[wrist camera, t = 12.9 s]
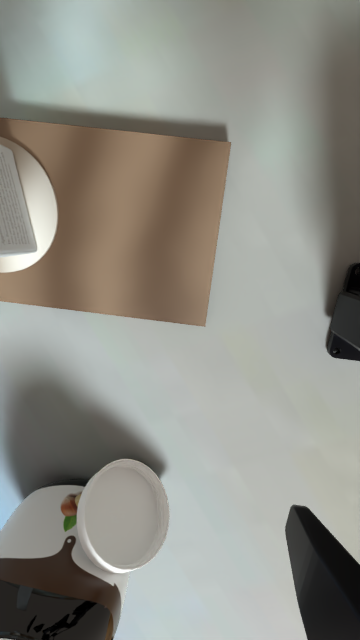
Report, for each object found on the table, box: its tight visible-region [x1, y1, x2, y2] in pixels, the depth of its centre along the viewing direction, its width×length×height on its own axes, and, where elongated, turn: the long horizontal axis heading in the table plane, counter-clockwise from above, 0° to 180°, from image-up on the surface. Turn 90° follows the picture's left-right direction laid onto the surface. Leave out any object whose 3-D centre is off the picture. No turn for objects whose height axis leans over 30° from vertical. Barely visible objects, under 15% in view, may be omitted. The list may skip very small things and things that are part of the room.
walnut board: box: [0, 118, 231, 327], centre depth 19 cm, size 18×11×2 cm, turn 84°
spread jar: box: [0, 459, 169, 640], centre depth 20 cm, size 12×11×12 cm
